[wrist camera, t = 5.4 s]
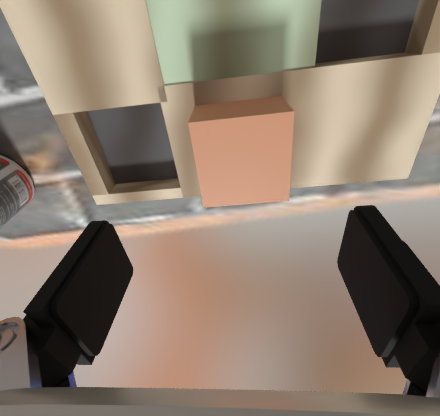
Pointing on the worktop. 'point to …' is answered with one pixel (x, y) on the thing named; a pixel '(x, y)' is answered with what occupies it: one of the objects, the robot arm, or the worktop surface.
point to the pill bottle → (13, 189)
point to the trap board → (232, 83)
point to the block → (243, 150)
